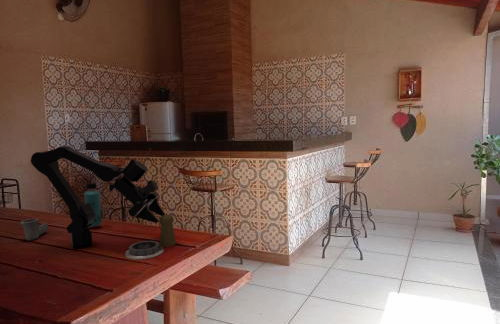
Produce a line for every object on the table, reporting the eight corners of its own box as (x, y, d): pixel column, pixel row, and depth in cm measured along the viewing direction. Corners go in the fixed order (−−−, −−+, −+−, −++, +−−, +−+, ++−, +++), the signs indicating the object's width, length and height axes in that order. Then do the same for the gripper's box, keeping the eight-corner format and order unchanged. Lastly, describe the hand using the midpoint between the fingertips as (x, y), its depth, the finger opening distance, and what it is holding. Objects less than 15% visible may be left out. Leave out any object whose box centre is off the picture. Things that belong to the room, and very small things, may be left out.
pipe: (52, 232, 161) (50, 214, 160) (32, 242, 148) (30, 222, 148) (38, 232, 162) (36, 214, 161) (17, 242, 149) (15, 222, 148)
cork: (156, 245, 140) (154, 216, 138) (166, 240, 145) (165, 212, 144) (169, 247, 137) (167, 217, 136) (179, 242, 142) (177, 214, 141)
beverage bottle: (86, 227, 168) (82, 182, 166) (102, 224, 171) (98, 181, 168) (86, 230, 162) (82, 185, 160) (103, 228, 165) (99, 183, 162)
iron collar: (131, 262, 123) (130, 254, 123) (121, 251, 134) (120, 244, 134) (169, 253, 130) (168, 246, 130) (156, 244, 141) (156, 237, 141)
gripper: (135, 178, 129) (169, 209, 130) (151, 171, 148) (180, 198, 148) (114, 202, 130) (148, 232, 131) (132, 191, 149) (162, 218, 149)
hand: (161, 218), depth 140 cm, fingers open, 9 cm apart
